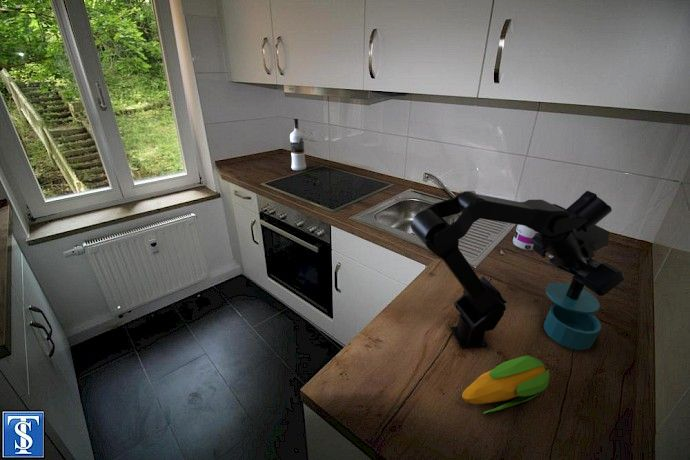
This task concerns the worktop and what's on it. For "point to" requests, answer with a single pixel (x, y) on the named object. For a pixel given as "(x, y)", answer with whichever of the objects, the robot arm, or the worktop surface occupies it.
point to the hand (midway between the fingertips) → (584, 278)
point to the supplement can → (524, 237)
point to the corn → (509, 383)
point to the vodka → (297, 148)
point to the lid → (573, 297)
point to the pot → (571, 328)
